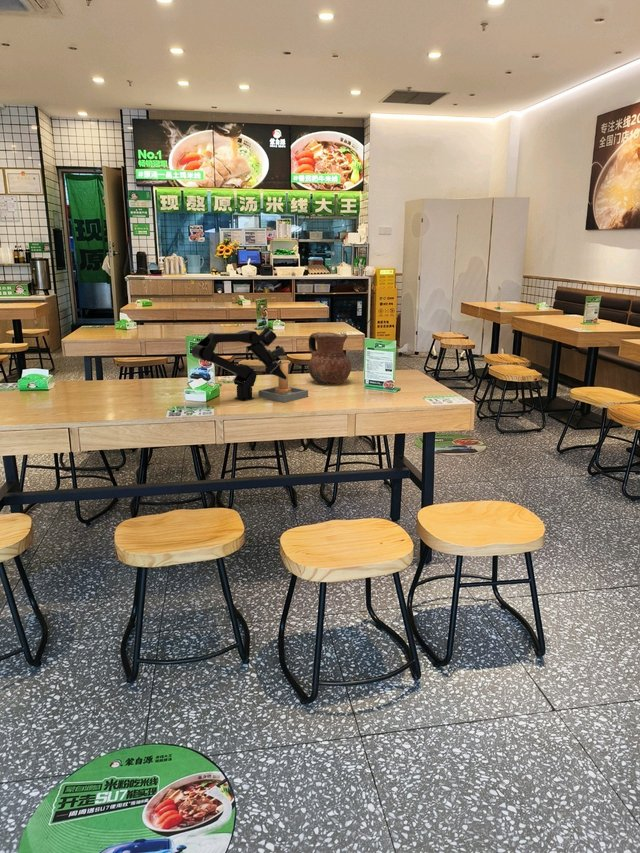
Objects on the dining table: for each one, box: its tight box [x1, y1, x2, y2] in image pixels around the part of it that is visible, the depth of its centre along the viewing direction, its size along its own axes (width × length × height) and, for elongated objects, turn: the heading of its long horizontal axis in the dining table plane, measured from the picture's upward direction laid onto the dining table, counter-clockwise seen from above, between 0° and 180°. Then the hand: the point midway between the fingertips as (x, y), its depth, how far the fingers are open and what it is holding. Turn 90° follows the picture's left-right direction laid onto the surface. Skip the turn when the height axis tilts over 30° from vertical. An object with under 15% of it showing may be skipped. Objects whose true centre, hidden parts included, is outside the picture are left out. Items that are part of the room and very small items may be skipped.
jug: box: [307, 331, 353, 385], centre depth 316 cm, size 22×21×25 cm
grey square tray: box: [258, 385, 309, 403], centre depth 286 cm, size 16×16×3 cm
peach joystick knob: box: [275, 362, 291, 393], centre depth 284 cm, size 7×7×13 cm
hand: (286, 377), depth 284 cm, fingers closed on peach joystick knob, 4 cm apart
